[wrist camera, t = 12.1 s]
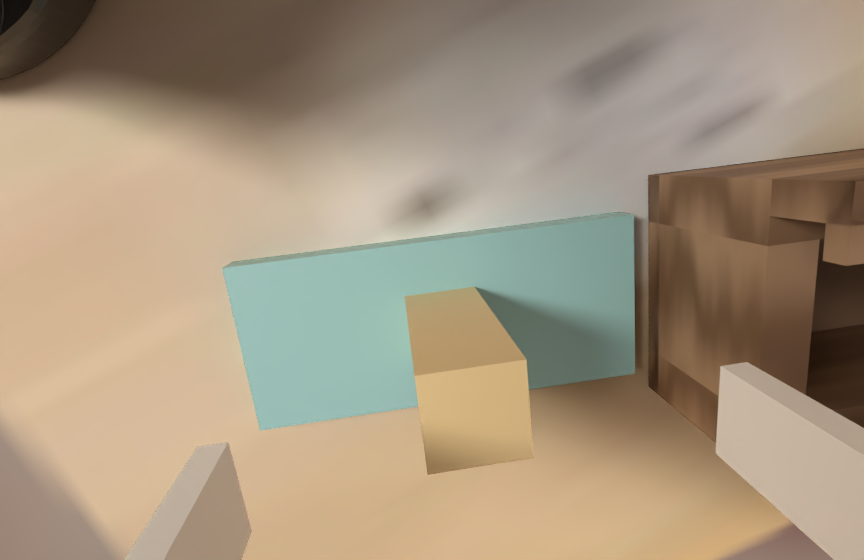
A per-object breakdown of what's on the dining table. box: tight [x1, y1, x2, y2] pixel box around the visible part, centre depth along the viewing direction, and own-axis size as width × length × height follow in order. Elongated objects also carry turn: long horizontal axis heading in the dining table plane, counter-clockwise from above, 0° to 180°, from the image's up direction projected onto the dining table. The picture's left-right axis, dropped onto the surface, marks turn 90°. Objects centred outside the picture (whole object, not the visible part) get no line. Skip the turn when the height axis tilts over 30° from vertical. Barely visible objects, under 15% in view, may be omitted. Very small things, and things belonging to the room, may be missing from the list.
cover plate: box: [222, 212, 635, 475], centre depth 20 cm, size 9×20×11 cm, turn 97°
